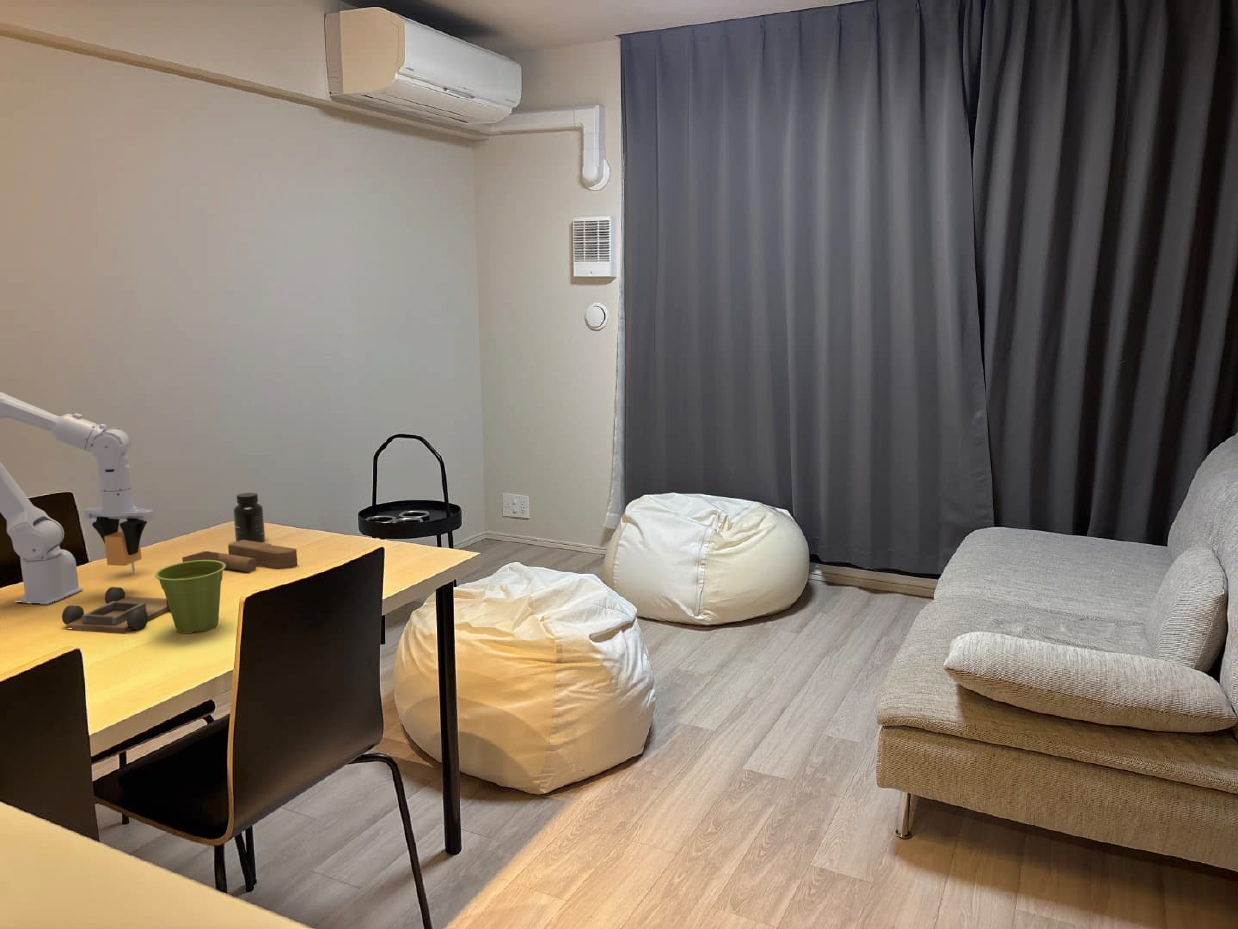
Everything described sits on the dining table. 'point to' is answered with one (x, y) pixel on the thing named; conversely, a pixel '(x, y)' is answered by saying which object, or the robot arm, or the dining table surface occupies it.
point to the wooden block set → (250, 556)
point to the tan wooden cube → (119, 550)
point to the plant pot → (193, 593)
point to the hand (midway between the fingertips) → (123, 553)
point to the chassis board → (116, 613)
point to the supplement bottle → (249, 518)
